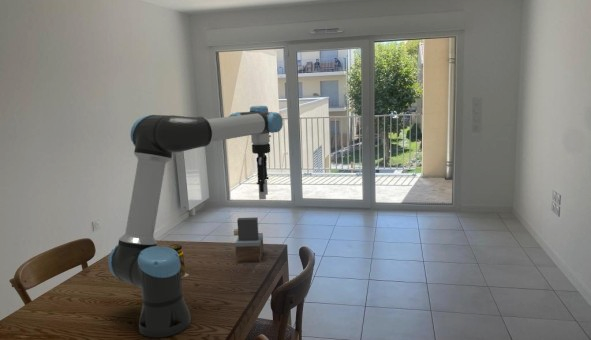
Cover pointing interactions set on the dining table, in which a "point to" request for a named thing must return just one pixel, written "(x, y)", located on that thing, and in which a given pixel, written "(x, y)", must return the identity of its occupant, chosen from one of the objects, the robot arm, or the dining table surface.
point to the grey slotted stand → (248, 232)
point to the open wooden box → (249, 253)
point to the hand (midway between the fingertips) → (263, 196)
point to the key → (235, 231)
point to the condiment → (181, 256)
